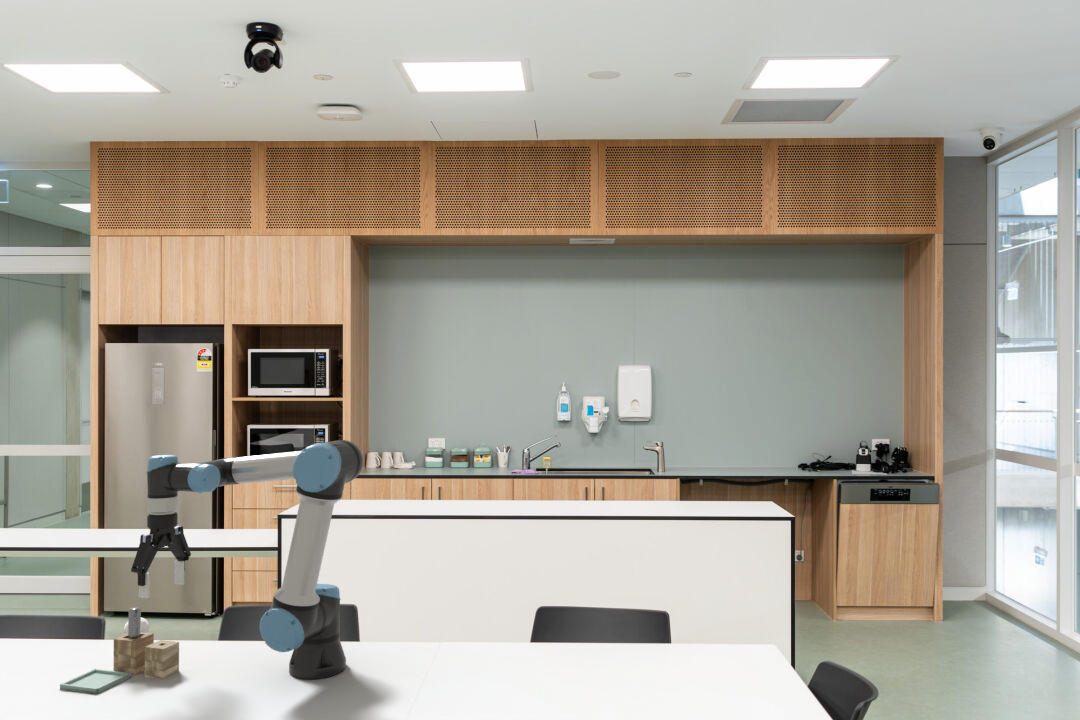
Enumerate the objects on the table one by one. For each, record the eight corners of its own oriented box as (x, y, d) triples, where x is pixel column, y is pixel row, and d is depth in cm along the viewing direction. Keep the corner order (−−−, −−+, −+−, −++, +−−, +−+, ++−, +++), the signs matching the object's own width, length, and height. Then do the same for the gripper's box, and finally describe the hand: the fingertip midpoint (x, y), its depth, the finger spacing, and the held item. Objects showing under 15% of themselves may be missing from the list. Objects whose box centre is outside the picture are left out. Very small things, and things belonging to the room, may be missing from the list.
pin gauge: (141, 662, 228) (143, 607, 229) (133, 665, 225) (135, 610, 226) (132, 661, 229) (134, 606, 229) (124, 664, 226) (126, 609, 226)
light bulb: (130, 661, 233) (130, 622, 233) (119, 656, 237) (119, 618, 237) (153, 655, 238) (153, 616, 239) (141, 650, 242) (142, 612, 243)
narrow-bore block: (178, 671, 226) (179, 641, 226) (163, 679, 220) (163, 649, 220) (160, 669, 227) (160, 639, 227) (144, 676, 222) (144, 647, 222)
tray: (130, 677, 221) (130, 672, 221) (97, 693, 210) (97, 689, 210) (95, 673, 224) (95, 668, 224) (59, 689, 213) (59, 684, 213)
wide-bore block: (153, 665, 230) (153, 633, 230) (135, 674, 223) (135, 641, 223) (132, 663, 232) (132, 631, 232) (113, 672, 225) (113, 639, 225)
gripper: (181, 504, 237) (181, 578, 237) (116, 519, 213) (115, 602, 213) (204, 505, 235) (204, 580, 235) (140, 521, 211) (140, 604, 211)
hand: (162, 591), depth 224 cm, fingers open, 13 cm apart
